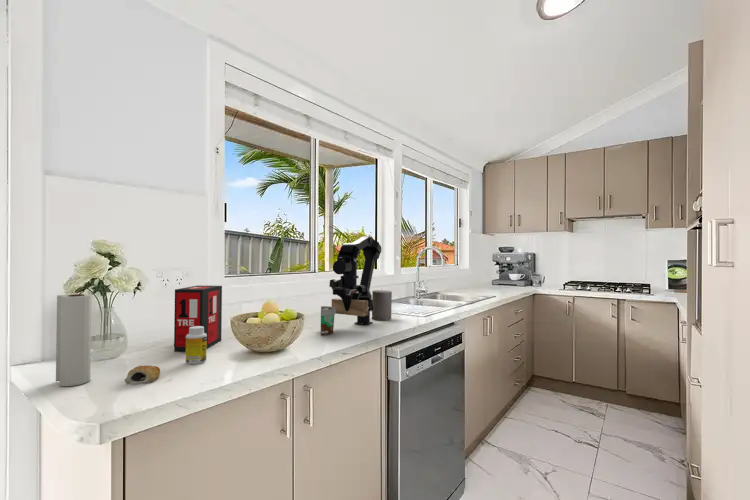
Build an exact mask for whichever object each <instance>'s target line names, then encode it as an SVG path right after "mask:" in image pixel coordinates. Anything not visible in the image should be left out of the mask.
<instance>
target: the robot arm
mask: <svg viewBox="0 0 750 500" xmlns="http://www.w3.org/2000/svg"><path fill="white" fill-rule="evenodd" d="M382 249H383V248H382V246H381V244H380V243H379V241H377V240H376V239H374V238H373V236H371V235H363V236H361V237H359V238H358V239H356V240H354V241H353V242H346V243H343V244H341V246H340V249H339V251H338V253H337V258H336V260H335V261H334V263H333V265H332V270H333V272H334V274H336V275H341V276H340V279H337V280H336V279H335V278H333V279H330V280H329V288H331V290H332V295H334V296H337V297H338V298H341V299H342V301H343V304H344V307H345V310H346V311H348V310H349V307H350V304H351V300H352V299H353V300H366V301H368V315H367V316H356V321H355V322H353V323H354V324H355V325H363V326H367V325H370V324H373V321H370V320H371V318H370V317H371V315H370V314H371V312H372V311H374V303H373V301H372V294H371V293H372V292H371V291H370V290H371V286H372V285H371V283H372V279H373V273H374V268H375V264H376V261H377V260H379V258H380V256H381V253H382ZM361 251H362V255H363V258H364V263H363V266H362V267H363V268H362V273H361V278H360V282H359V283H360V284H357V283H358V280H357V279H359V275H358V274H357V271H358V270H357V268H358V265H357V264H358V263H359V259H357V258H358V257H359V256H360V254H361Z"/></svg>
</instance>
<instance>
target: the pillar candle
mask: <svg viewBox="0 0 750 500" xmlns="http://www.w3.org/2000/svg"><path fill="white" fill-rule="evenodd" d="M371 293H372V294H371V295H372V301H373V303H374V311H371V319H372V320H374V321H390V319H391V320H392V302H393V301H392V296H393V291H391V290H384V289H376V290H372V292H371Z"/></svg>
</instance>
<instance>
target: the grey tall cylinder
mask: <svg viewBox="0 0 750 500" xmlns="http://www.w3.org/2000/svg"><path fill="white" fill-rule="evenodd" d="M91 338H92V294H82V293H80V294H65V295H61V294H59V295H58V294H57V295H56V337H55V340H56V343H55V344H56V345H55V348H56V349H55V351H56V353H55V382H58V383H59V386H61V387H73V386H74V387H75V386H80V385H84V384H86V383H89V382H90V381H91V355H92V354H91V349H92V347H91V346H92V339H91Z"/></svg>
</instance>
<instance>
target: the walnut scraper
mask: <svg viewBox="0 0 750 500" xmlns="http://www.w3.org/2000/svg"><path fill="white" fill-rule="evenodd" d="M331 307H334V308H335V309H336V314H335V315H346V316H353V317H355V316H356V317H357V316H367V315H368V308H369V307H368V301H366V300H353V299H352V300H351V304H350V307H349V310H348V311H346V310H345V307H344V304H343V301H342V299H341V298H340V297H338V298H337V297H336V298H331Z"/></svg>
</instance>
